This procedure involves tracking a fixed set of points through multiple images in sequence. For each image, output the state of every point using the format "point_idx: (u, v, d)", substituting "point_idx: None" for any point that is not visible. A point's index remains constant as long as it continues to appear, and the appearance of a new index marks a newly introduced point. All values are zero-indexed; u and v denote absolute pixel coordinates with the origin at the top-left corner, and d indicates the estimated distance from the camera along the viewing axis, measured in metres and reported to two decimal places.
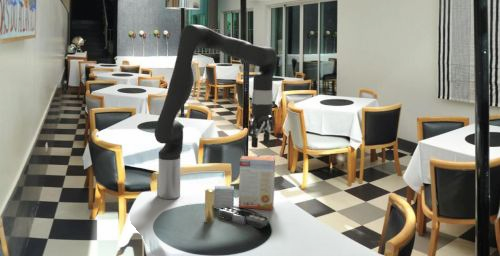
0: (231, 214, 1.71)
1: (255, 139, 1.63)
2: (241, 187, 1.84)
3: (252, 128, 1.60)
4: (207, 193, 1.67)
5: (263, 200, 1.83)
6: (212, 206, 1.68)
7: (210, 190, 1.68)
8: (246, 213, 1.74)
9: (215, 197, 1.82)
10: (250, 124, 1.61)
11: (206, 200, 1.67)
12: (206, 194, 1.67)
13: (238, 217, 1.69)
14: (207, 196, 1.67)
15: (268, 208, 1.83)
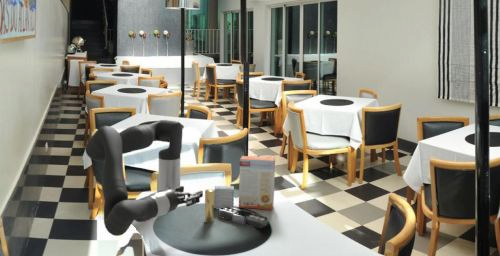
0: (231, 214, 1.71)
1: (197, 194, 1.54)
2: (241, 187, 1.84)
3: (194, 199, 1.49)
4: (207, 193, 1.67)
5: (263, 200, 1.83)
6: (212, 206, 1.68)
7: (210, 190, 1.68)
8: (246, 213, 1.74)
9: (215, 197, 1.82)
10: (191, 202, 1.48)
11: (206, 200, 1.67)
12: (206, 194, 1.67)
13: (238, 217, 1.69)
14: (207, 196, 1.67)
15: (268, 208, 1.83)
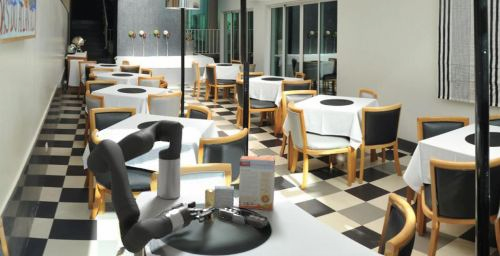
0: (231, 214, 1.71)
1: (209, 210, 1.60)
2: (241, 187, 1.84)
3: (206, 215, 1.56)
4: (207, 193, 1.67)
5: (263, 200, 1.83)
6: None
7: (210, 190, 1.68)
8: (246, 213, 1.74)
9: (215, 197, 1.82)
10: (204, 219, 1.55)
11: (206, 200, 1.67)
12: (206, 194, 1.67)
13: (238, 217, 1.69)
14: (207, 196, 1.67)
15: (268, 208, 1.83)
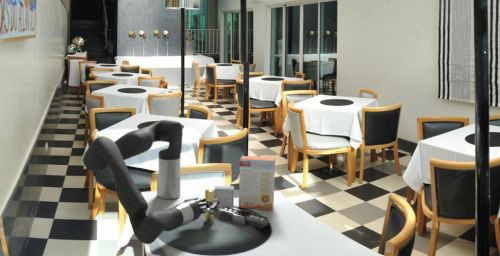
0: (231, 214, 1.71)
1: (215, 201, 1.67)
2: (241, 187, 1.84)
3: (215, 207, 1.62)
4: (207, 193, 1.67)
5: (263, 200, 1.83)
6: None
7: (210, 190, 1.68)
8: (246, 213, 1.74)
9: (215, 197, 1.82)
10: (214, 210, 1.61)
11: (206, 200, 1.67)
12: (206, 194, 1.67)
13: (238, 217, 1.69)
14: (207, 196, 1.67)
15: (268, 208, 1.83)
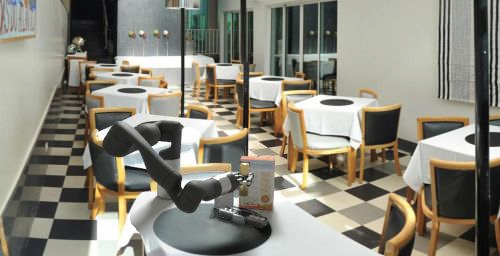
0: (231, 214, 1.71)
1: (250, 175, 1.67)
2: None
3: (251, 179, 1.62)
4: (242, 166, 1.66)
5: (263, 200, 1.83)
6: None
7: (245, 164, 1.67)
8: (246, 213, 1.74)
9: None
10: (250, 183, 1.61)
11: None
12: (241, 167, 1.67)
13: (238, 217, 1.69)
14: (242, 170, 1.66)
15: (268, 208, 1.83)
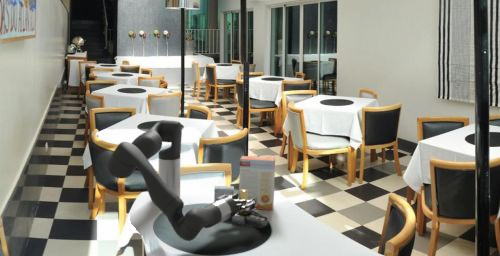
0: None
1: (252, 200, 1.67)
2: (241, 187, 1.84)
3: (251, 205, 1.62)
4: (241, 193, 1.68)
5: (263, 200, 1.83)
6: None
7: (244, 190, 1.69)
8: None
9: (215, 197, 1.82)
10: (249, 209, 1.61)
11: None
12: (240, 194, 1.68)
13: (238, 217, 1.69)
14: (241, 196, 1.68)
15: (268, 208, 1.83)
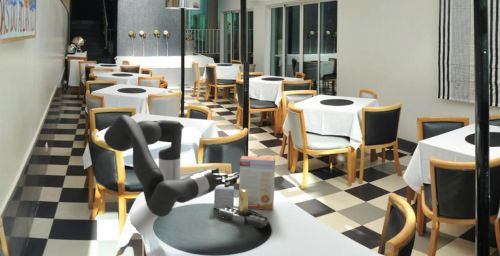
0: (231, 214, 1.71)
1: (234, 175, 1.53)
2: (241, 187, 1.84)
3: (232, 180, 1.49)
4: (241, 193, 1.68)
5: (263, 200, 1.83)
6: (246, 205, 1.69)
7: (244, 190, 1.69)
8: None
9: (215, 197, 1.82)
10: (229, 184, 1.48)
11: (240, 200, 1.69)
12: (240, 194, 1.68)
13: (238, 217, 1.69)
14: (241, 196, 1.68)
15: (268, 208, 1.83)
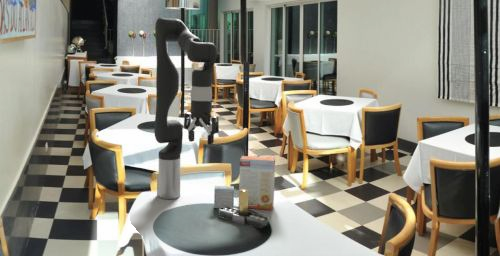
0: (231, 214, 1.71)
1: None
2: (241, 187, 1.84)
3: (217, 125, 1.60)
4: (241, 193, 1.68)
5: (263, 200, 1.83)
6: (246, 205, 1.69)
7: (244, 190, 1.69)
8: None
9: (215, 197, 1.82)
10: (215, 121, 1.59)
11: (240, 200, 1.69)
12: (240, 194, 1.68)
13: (238, 217, 1.69)
14: (241, 196, 1.68)
15: (268, 208, 1.83)
